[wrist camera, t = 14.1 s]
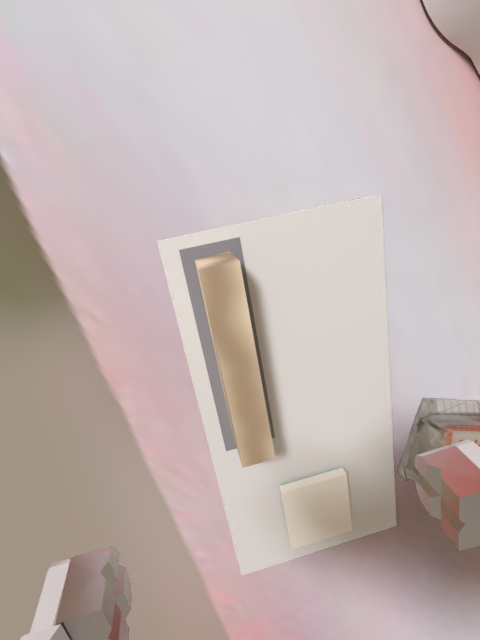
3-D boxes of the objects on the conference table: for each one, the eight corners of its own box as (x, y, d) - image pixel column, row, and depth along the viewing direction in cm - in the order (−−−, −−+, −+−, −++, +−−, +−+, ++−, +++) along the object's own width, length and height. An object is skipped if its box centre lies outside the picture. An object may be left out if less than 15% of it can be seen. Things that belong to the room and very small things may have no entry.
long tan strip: (230, 251, 32) (239, 260, 29) (264, 432, 39) (275, 458, 35) (194, 259, 32) (199, 269, 28) (234, 440, 39) (242, 467, 35)
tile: (346, 473, 41) (352, 530, 44) (341, 465, 42) (347, 521, 45) (282, 493, 40) (292, 549, 43) (278, 484, 42) (288, 539, 44)
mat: (379, 194, 34) (381, 194, 33) (394, 523, 47) (396, 526, 47) (156, 240, 32) (156, 241, 31) (240, 572, 45) (241, 576, 45)
